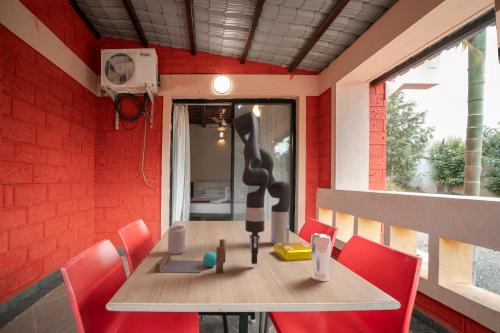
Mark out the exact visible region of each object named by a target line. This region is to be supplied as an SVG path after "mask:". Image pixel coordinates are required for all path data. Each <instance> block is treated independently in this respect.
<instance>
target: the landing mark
mask: <svg viewBox="0 0 500 333" xmlns="http://www.w3.org/2000/svg"><path fill="white" fill-rule="evenodd" d="M204 266H205V264H204V262H203V260H187V259H186V260H181V259H179V260H178V259H174V260H173V259H172V260H171V259H170V262H169V263H168V264H167V265H166V266H165V267H164V268H163V270H162V271H161V272H160V273H164V274H165V273H166V274H167V273H169V274H171V273H172V274H173V273H175V274H178V273H180V274H200V273H201V272H202V269H203V267H204Z"/></svg>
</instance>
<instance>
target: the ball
mask: <svg viewBox="0 0 500 333" xmlns="http://www.w3.org/2000/svg"><path fill="white" fill-rule="evenodd" d="M202 261H203V262H204V266H206V267H208V268H212V267H214V266H216V253H215V252H213V251H207V252H206V253H205V254H204V255H203V258H202Z"/></svg>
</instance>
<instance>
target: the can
mask: <svg viewBox="0 0 500 333" xmlns="http://www.w3.org/2000/svg"><path fill="white" fill-rule="evenodd" d="M167 236H168V238H167V239H168V240H167V252H168V253H171V255H173V256H174V255H176V256H177V255H182V254H183V253H184V252H185V250H186V229H185V226H183V225H172V226H170V227H169V229H168V235H167Z"/></svg>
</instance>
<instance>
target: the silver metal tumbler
mask: <svg viewBox="0 0 500 333" xmlns="http://www.w3.org/2000/svg"><path fill="white" fill-rule="evenodd" d="M310 237H311V238H310V247H311V256H312V259H311V261H312V272H311V279H312V280H315V281H316V282H328V281H329V280H330V274H329V265H330V260H331V256H332V255H331V253H332V241H331V235H330V234H327V233H312V234H311V236H310Z"/></svg>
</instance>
